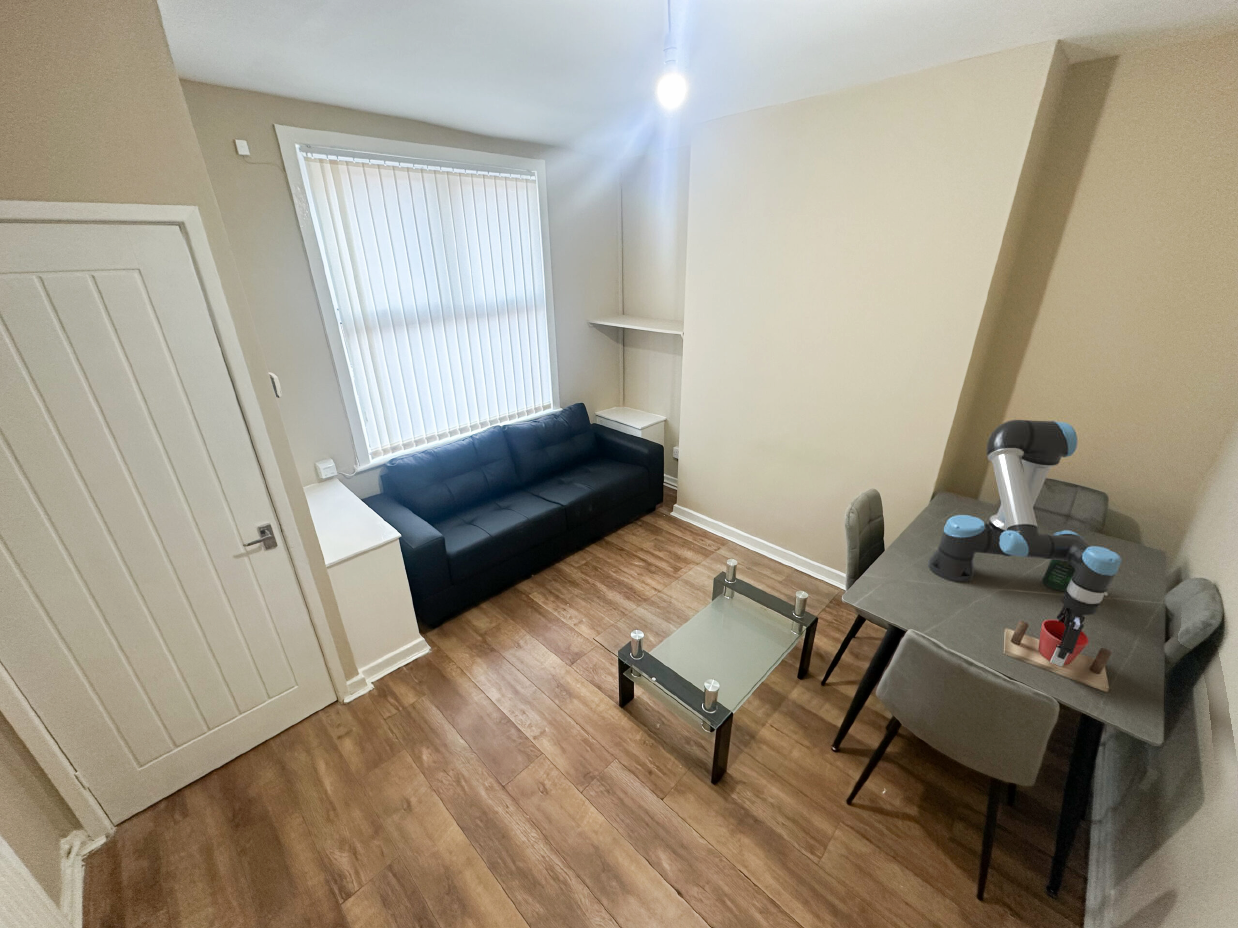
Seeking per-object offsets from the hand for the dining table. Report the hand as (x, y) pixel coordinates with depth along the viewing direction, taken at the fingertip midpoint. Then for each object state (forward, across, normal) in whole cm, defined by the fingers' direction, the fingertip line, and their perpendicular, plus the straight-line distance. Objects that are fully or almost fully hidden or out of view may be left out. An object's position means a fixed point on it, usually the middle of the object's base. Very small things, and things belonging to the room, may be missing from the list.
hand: (1055, 652), depth 146 cm
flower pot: (+1, 0, 0) cm, 1 cm away
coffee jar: (+3, +47, -3) cm, 47 cm away
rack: (+3, 0, 0) cm, 3 cm away
